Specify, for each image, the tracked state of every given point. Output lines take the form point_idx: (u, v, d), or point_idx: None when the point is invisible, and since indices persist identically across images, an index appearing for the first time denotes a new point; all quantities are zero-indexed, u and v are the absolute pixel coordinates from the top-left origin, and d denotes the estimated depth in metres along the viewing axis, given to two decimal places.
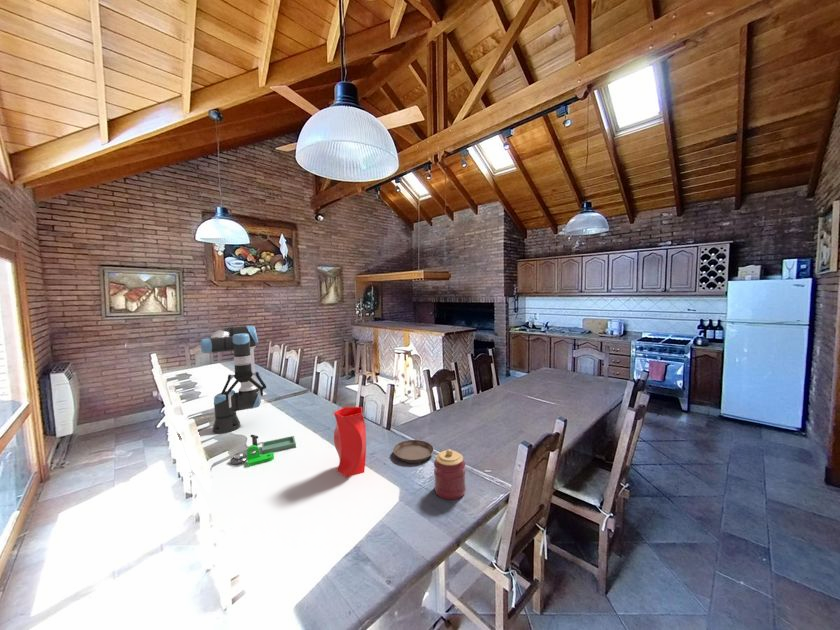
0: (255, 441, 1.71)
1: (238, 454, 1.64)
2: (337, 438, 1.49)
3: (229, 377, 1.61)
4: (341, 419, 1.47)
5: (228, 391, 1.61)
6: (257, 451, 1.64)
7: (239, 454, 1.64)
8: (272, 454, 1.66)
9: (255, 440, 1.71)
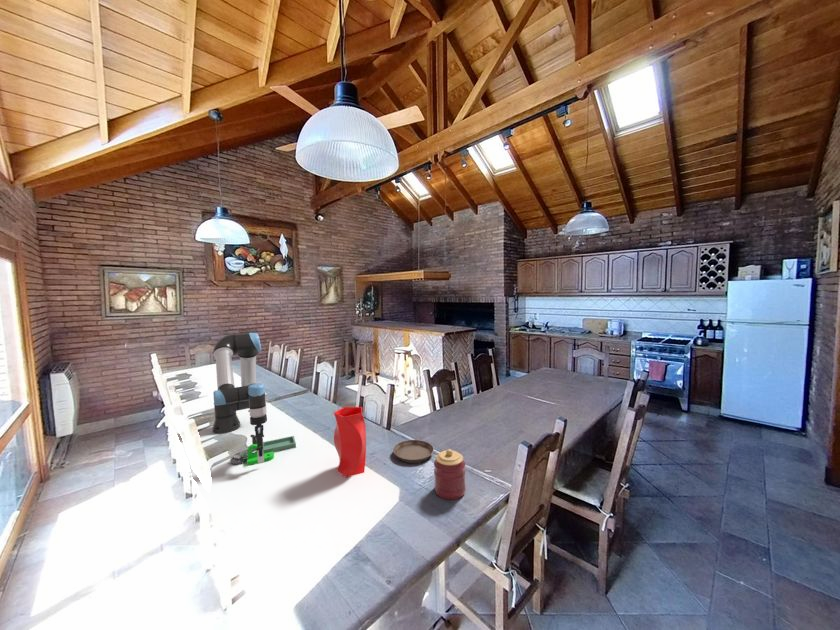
0: (255, 441, 1.71)
1: (238, 454, 1.64)
2: (337, 438, 1.49)
3: None
4: (341, 419, 1.47)
5: None
6: None
7: (239, 454, 1.64)
8: (272, 454, 1.67)
9: (255, 440, 1.71)
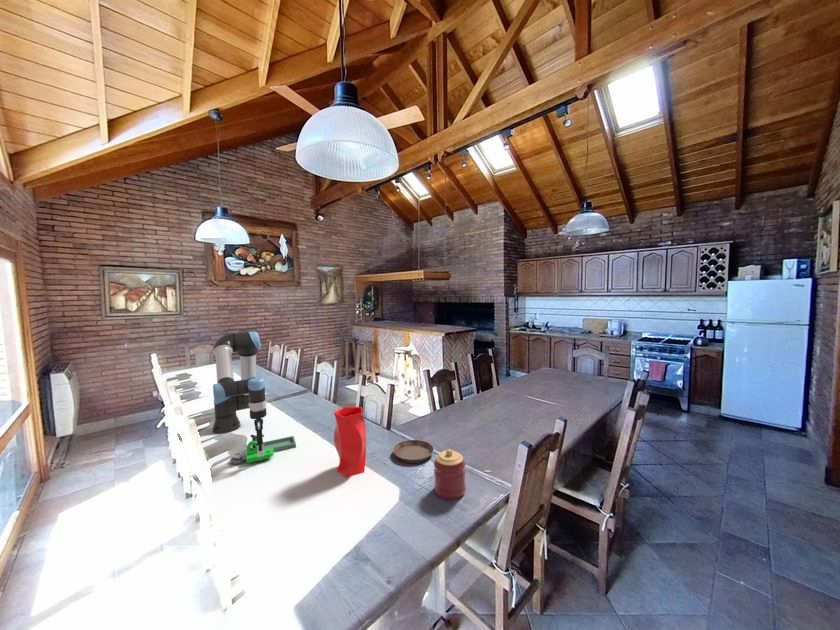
0: None
1: (238, 454, 1.64)
2: (337, 438, 1.49)
3: None
4: (341, 419, 1.47)
5: None
6: None
7: (239, 454, 1.64)
8: (271, 450, 1.66)
9: (255, 440, 1.71)
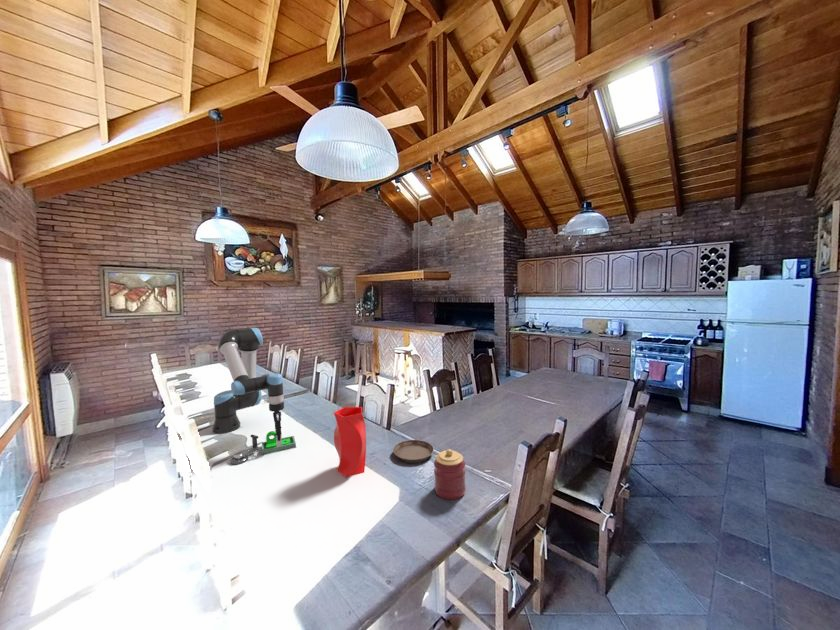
0: (255, 441, 1.71)
1: (238, 454, 1.64)
2: (337, 438, 1.49)
3: None
4: (341, 419, 1.47)
5: (275, 426, 1.81)
6: (275, 437, 1.78)
7: (239, 454, 1.64)
8: (288, 440, 1.80)
9: (255, 440, 1.71)
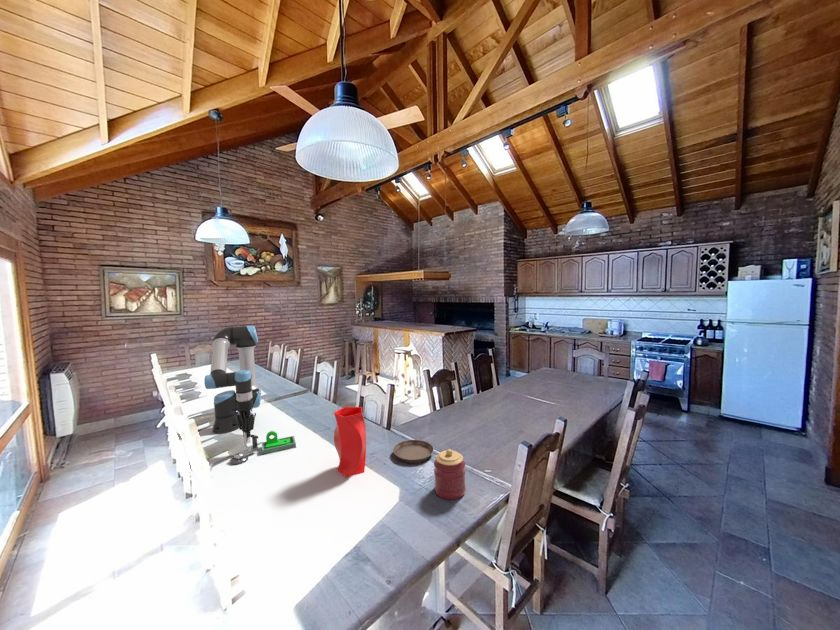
0: (255, 441, 1.71)
1: (238, 454, 1.64)
2: (337, 438, 1.49)
3: (236, 413, 1.73)
4: (341, 419, 1.47)
5: (242, 427, 1.72)
6: (275, 436, 1.79)
7: (239, 454, 1.64)
8: (288, 440, 1.80)
9: (255, 440, 1.71)
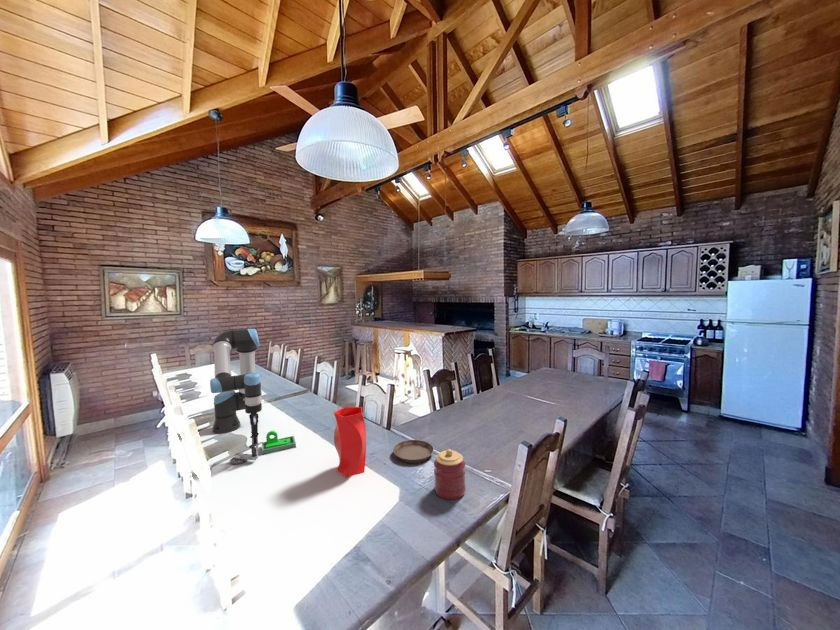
0: (252, 450, 1.61)
1: (238, 454, 1.64)
2: (337, 438, 1.49)
3: None
4: (341, 419, 1.47)
5: (251, 432, 1.66)
6: (275, 436, 1.79)
7: (238, 454, 1.64)
8: (288, 440, 1.80)
9: (252, 449, 1.61)
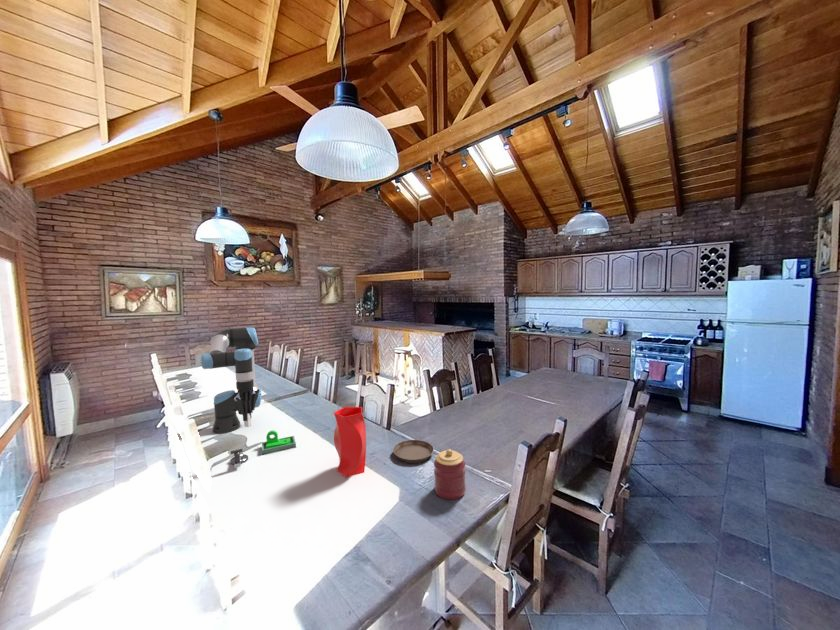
0: None
1: (239, 454, 1.64)
2: (337, 438, 1.49)
3: None
4: (341, 419, 1.47)
5: None
6: (275, 436, 1.79)
7: None
8: (288, 440, 1.81)
9: None
